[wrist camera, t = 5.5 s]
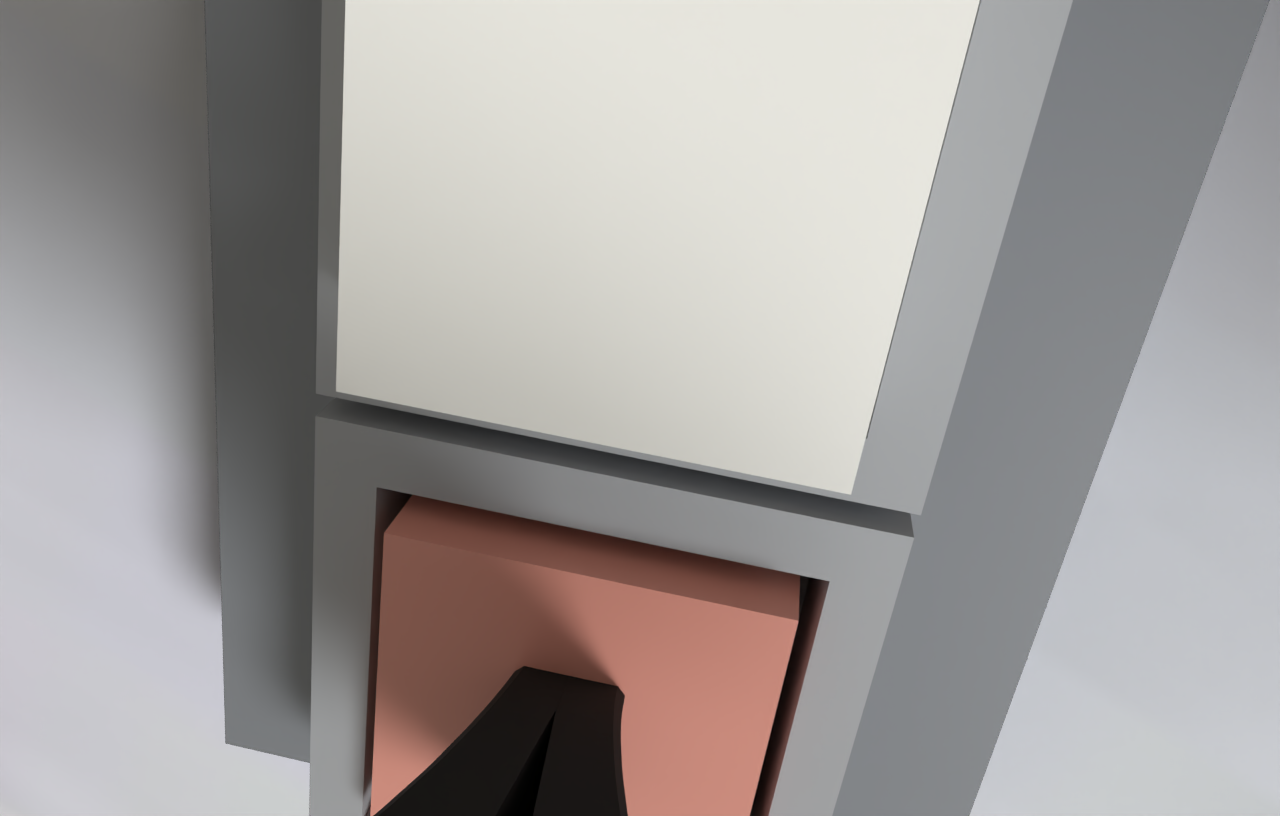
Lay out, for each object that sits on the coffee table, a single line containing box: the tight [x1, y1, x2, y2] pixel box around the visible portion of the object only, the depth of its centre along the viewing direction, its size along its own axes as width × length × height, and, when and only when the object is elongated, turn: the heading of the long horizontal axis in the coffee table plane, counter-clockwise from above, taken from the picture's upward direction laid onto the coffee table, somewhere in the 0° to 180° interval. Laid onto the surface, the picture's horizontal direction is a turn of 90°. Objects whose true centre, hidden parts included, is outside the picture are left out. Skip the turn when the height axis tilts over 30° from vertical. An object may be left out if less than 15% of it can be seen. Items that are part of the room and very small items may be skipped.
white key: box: [336, 0, 980, 495], centre depth 10 cm, size 5×5×2 cm
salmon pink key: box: [370, 495, 800, 816], centre depth 15 cm, size 5×5×2 cm
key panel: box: [205, 0, 1270, 816], centre depth 13 cm, size 12×23×4 cm, turn 172°
